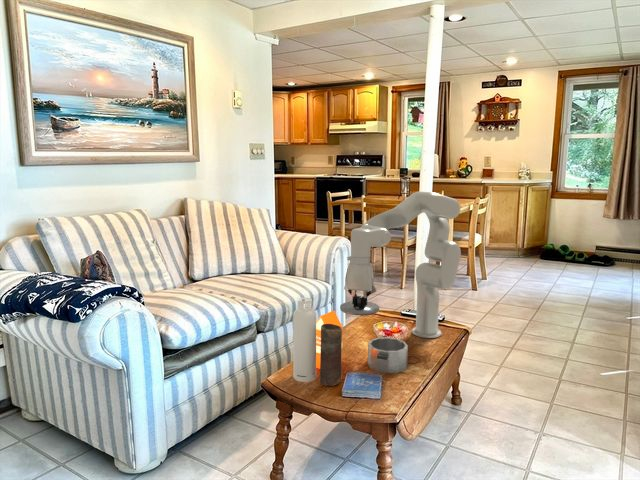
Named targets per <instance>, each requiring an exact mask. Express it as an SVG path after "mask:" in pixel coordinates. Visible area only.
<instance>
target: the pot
mask: <svg viewBox="0 0 640 480" xmlns="http://www.w3.org/2000/svg"><path fill="white" fill-rule="evenodd" d="M408 349H409V346H408V344H407V343H406V341H404V340H401V339H398V338H394V337H393V338H392V337H387V336H385V337H377V338H373V339H370V340H369V342H368V343H367V365H368V367H369V368H370V369H372V370H373V371H376V372H377V373H378V372H379V373H383V374H399V373H401V372H404V371H406V369H407V366H408V354H409V353H408Z"/></svg>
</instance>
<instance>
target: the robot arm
mask: <svg viewBox="0 0 640 480" xmlns="http://www.w3.org/2000/svg"><path fill="white" fill-rule="evenodd" d="M422 213H425V216H426V217H427V220H428V222H429V230H428V233H427V239H426V244H425V247H424V255H425V257H426V258H427V259H429V260H430V261H435V262H439V263H441V264H436V263H431V262H422V263H420V264H418V266H417V267H416V269H415V281H416V314H415V315H416V316H415V326H414V327H413V328H412V329H411V333H412V334H413V335H415V336H417V337H419V338H424V339H435V338H439V337H440V336H442V331H441V329H439V315H440V314H439V310H440V292H439V289H440V290H448V289H451V288H452V287H453V285H454V283H455V282H456V281H455V280H456V277H457V273H458V269H459V265H460V261H461V257H462V252H461V247H460V246H459V244H458V243H457V242H455V241H452V240H451V241H450V240H449V235H450V232H451V231H450V230H451V227H450V223H449V220H453V219H455V218H457V217H458V216H459V214H460V213H461V205H460V203H459V200H457V199H456V198H453V197H451V196H450V197H449V196H446V195H443V194H440V193H437V192H431V191H415V192H413V193H411V194H410V195H409V196H407V197H406V198H405V199H404V200H402V201H401V202H400V203H398V204H397V205H396V206H395V207H393V208H392V209H389V210H385V211H384V212H381V213H378V214H376V215H374V216H372V217H370V218H369V219H368V220H367V221H365V222H364V223H363V224H362V225H361V226H360V227H358V228H353V229H352V230H351V233H350V255H349V256H347V257H346V260H347V261H349V263H348V264H347V270H346V277H345V278H346V279H345V285H344V286H343V289H344V290H345V291H346V292H348V293H349V295H350V296H351V297H352V300H351V301H352V304H354V307H356V296H358V294H357V291H359V292H360V291H361V292H362V296H363V298H362V308H365V307H366V306H367V302H368V297H369V296H370V295H373V294H375V293H377V288H376V286H375V284H374V282H375V281H374V270H373V264H372V263H371V247H373V248H374V247H377V248H381V247H382V248H383V247H386V246H387V245H388V244H389V243H390V241H391V239H392V236H391V232H390V231H389V229H395V228H396V229H397V228H401V227H406V226H407V225H409V224H410V223H411V222H412V221H414V220H415V218H417V217H418V216H420V215H421V214H422ZM448 219H449V220H448Z"/></svg>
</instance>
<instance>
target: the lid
mask: <svg viewBox="0 0 640 480" xmlns="http://www.w3.org/2000/svg"><path fill="white" fill-rule="evenodd" d="M362 298H363V295H357V296H356V307H354V304H352V300H351V301H346V302H343V303H342V304H340V307H339V310H340V312H342V313H344V314H346V315H351V316H360V317H361V316H372V315H375V314H377V313H378V312H379V311H380V305H378V304H377V303H374V302H371V301H367V306H366V307H365V308H362Z"/></svg>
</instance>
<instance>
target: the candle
mask: <svg viewBox="0 0 640 480" xmlns="http://www.w3.org/2000/svg"><path fill="white" fill-rule="evenodd" d="M342 364H343V327H342V328H341V327H340V326H337V325H334V324H322V326H321V352H320V369H319V383H320V385H323V386H336V385H338V384H339V383H340V382H341V381H342Z"/></svg>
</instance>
